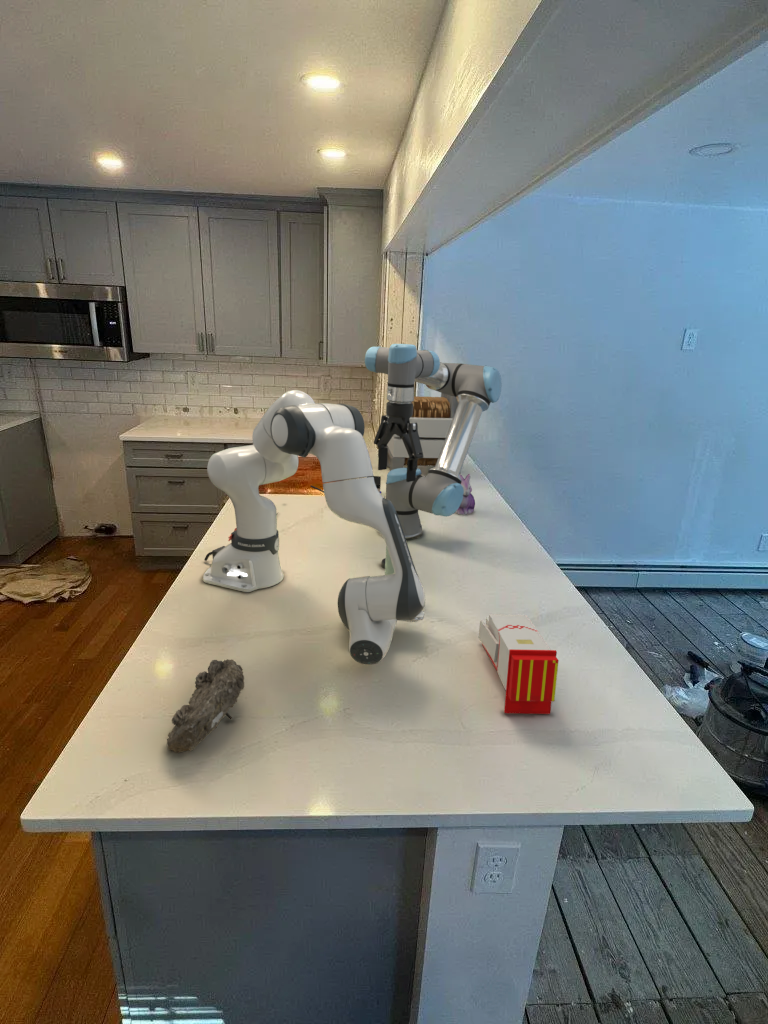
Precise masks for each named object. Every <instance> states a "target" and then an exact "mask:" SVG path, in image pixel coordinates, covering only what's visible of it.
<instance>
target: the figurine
mask: <svg viewBox="0 0 768 1024" xmlns="http://www.w3.org/2000/svg"><path fill="white" fill-rule="evenodd" d="M459 476H460V478H461V481H462V482H461V485H462V486H463V489H464V494H463V500H462V502H461V504H460V506H459V508H458V509H457V511H456V512H455V513H456V514H458V515H470V514H472V513H474V511H475V507H476V500H475V497H474V495H473V494H472V492H473V488H472V485H471V483H470V481H471V474H470V473H468V474H467V475H466V476H465V478H464V476H463V475H462V474H460V475H459Z"/></svg>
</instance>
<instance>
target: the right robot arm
mask: <svg viewBox="0 0 768 1024" xmlns="http://www.w3.org/2000/svg"><path fill="white" fill-rule="evenodd" d="M364 366H365V367H366V369H367V370H368V371H369V372H372V373H375V374H385V375H387V386H386V387H387V389H386V400H387V402H386V404H385V405H386V406H385V414H383V415H381V417H380V423H379V426H378V429H377V432H376V434H375V436H374V440H373V444H374V445H376V447H377V448H378V450H377V458H378V460H377V461H378V464H377V470H378V471H384V470H388V467H387V454H388V448H385V447H388V446H387V444H388V442H389V441H390V440H391V438H392V437H393V435H394V434H396V435H397V436H400V438H401V439H402V440H403V443H404V445H405V448H406V450H407V453H408V455H409V458H408V459H407V465H406V467H404V468H398V469H394V470H391V471H390V470H388V472H387V475H386V480H385V499H388V500H390V501H391V503H392V504H393V506H394V508H395V510H396V512H397V515H398V518H399V521H400V523H401V526H402V529H403V532H404V535H405V538H406V541H410V540H415V539H418V538H420V537H421V536H422V535H423V525H422V524H421V518H420V515H419V511H421V512H425V513H429V514H431V515H432V514H433V515H435V516H440V517H450V516H452V515H453V514H455V513H456V511H457V509H458V508H459V506H460V504H461V502H462V500H463V494H464V489H463V486H462V485H461V482H462V481H461V478H460V476H459V474H460V472H462V469H463V466H464V463H465V460H466V458H467V455H468V452H469V449H470V447H471V444H472V442H473V438H474V436H475V433H476V431H477V428H478V424H479V423H480V419H481V417H482V414H483V412H486V411H488V410H489V407H490V406H491V403H492V404H494V403H497V402H498V401H499V399H500V398H501V392H502V386H503V385H502V384H503V383H502V382H503V381H502V376H501V373H500V370H498V368H497V367H494V366H489V365H479V364H478V365H477V364H469V363H460V362H456V363H455V362H442V361H441V360H440V358H439V355H438V353H436V352H435V351H434V350H429V349H423V350H419V349H417V346H416V345H415V344H411V343H392V344H391V345H390V346H389V347H385V346H380V345H378V346H371V347H369V348H368V349H367V350H366V352H365V355H364ZM415 383H418V384H422V385H425V386H426V387H427V388H428V389H430V390H433V391H436V392H438V393H444V394H446V395H449V396H453V397H456V400H457V402H458V406H457V409H456V412H455V414H454V417H453V420H452V422H451V425H450V428H449V430H448V433H447V436H446V439H445V441H444V444H443V447H442V449H441V452H440V455H439V457H438V460H437V463H436V465H435V466H433V467H432V468H429V469H428V471H427V474H426V475H422V470H421V469H420V468H418V466H417V462H418V459H419V458H423V451H422V447H421V443H420V439H419V434H418V424H417V423H410V417H411V416H412V415H413V403H411V402H413V401H414V396H415ZM406 433H407V434H406ZM418 453H419V454H418ZM460 475H461V474H460ZM310 488H312V489H313V490H317V491H319V492H322V493H323V494H324V489H321V488H318V487H317V486H314V485H310Z"/></svg>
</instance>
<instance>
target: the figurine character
mask: <svg viewBox="0 0 768 1024" xmlns="http://www.w3.org/2000/svg"><path fill="white" fill-rule="evenodd" d="M371 477H374V482H375V485H376V487H377V489H378V491H379V493H380V494H382V491H381V483H382V482H381V481H382V477H381V476H380V475H373V476H371Z"/></svg>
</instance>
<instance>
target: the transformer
mask: <svg viewBox="0 0 768 1024" xmlns="http://www.w3.org/2000/svg"><path fill="white" fill-rule="evenodd" d="M440 393H441V392H440ZM411 403H413V415H412V416H411V417H410V423H417V424H418V434H419V439H420V443H421V447H422V451H423V458H419V459H418V462H417V467H435V465H436V463H437V460H438V457H439V455H440V452H441V449H442V447H443V444H444V441H445V439H446V436H447V433H448V430H449V428H450V425H451V422H452V420H453V417H454V414H455V412H456V409H457V406H458V402H457V400H456V397H453V396H449V395H446V394H444V393H441V394H440V396H415V395H414V401H413V402H411ZM406 434H407V433H406ZM387 446H388V447H385V448H388V454H387V468H389V471H391V470H394V469H398V468H405V466H407V459H408V458H409V455H408V453H407V450H406V448H405V445H404V443H403V440H402V439H401V438H400V436H397V435H396V434H394V435H393V437H392V438H391V440H390V441H389V442H388V444H387ZM418 454H419V453H418ZM461 472H462V471H461ZM461 472H460V474H459V475H462V474H461Z"/></svg>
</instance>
